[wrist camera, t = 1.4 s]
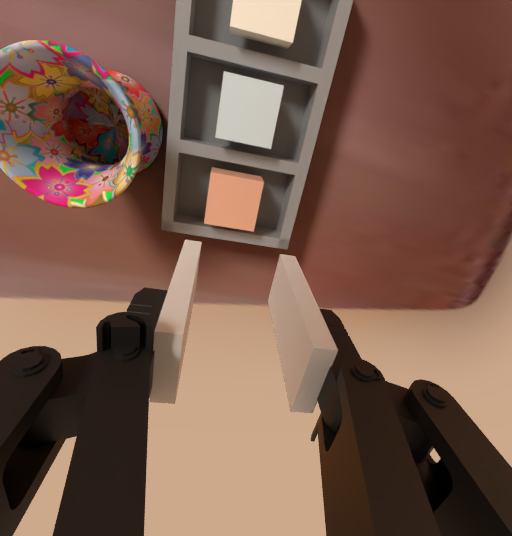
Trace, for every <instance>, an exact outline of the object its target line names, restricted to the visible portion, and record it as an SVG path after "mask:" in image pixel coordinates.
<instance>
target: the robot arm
mask: <svg viewBox="0 0 512 536" xmlns="http://www.w3.org/2000/svg"><path fill="white" fill-rule="evenodd" d="M201 244H202V242H199V241H192V240H186V239H185V241H184V244H183V247H182V250H181V253H180V256H179V259H178V262H177V265H176V268H175V271H174V274H173V277H172V280H171V283H170V286H169V289H168V291H167V290H159V289H152V288H143V289H142V290H140V291H139V292H137V293H136V294H135V295H134V297H133V299H132V301H131V303H130V305H129V307H128V309H127V312H120V313H115V314H112V315H109V316H107V317H105V318H104V319H103V320H101V321H100V323H99V324H98V326H97V327H96V331H97V352H95V353H93V354H90V355H85V356H80V357H73V358H66V359H61V355H60V353H59V352H57V351H56V350H55V349H53V348H49V347H46V346H33V347H28V348H24V349H20V350H18V351H16V352H13V353H11V354H9V355H7V356H6V357H5V358H3V359H2V360H1V361H0V536H12V535H13V534H14V532H15V530H16V528H17V527H18V525H19V523H20V521H21V519H22V518H23V516H24V514H25V512H26V510H27V509H28V507H29V505H30V503H31V501H32V499H33V498H34V496H35V494H36V492H37V490H38V489H39V487H40V485H41V483H42V481H43V480H44V478H45V476H46V474H47V472H48V471H49V468H50V467H51V465H52V463H53V462H54V460H55V458H56V456H57V454H58V452H59V451H60V449H61V447H62V445H63V443H64V441H65V440H66V439H67V438H71V437H75V436H77V438H76V442H75V446H74V450H73V454H72V458H71V462H70V467H69V471H68V475H67V479H66V483H65V487H64V491H63V496H62V499H61V504H60V508H59V512H58V516H57V520H56V524H55V529H54V532H53V536H144V513H145V487H146V486H145V485H146V459H147V433H148V431H147V430H148V406H149V397H150V402H158V403H173V404H175V400H176V395H177V389H178V384H179V378H180V373H181V367H182V362H183V356H184V351H185V346H186V340H187V334H188V329H189V324H190V318H191V313H192V307H193V302H194V296H195V290H196V282H197V275H198V267H199V259H200V252H201ZM268 304H269V309H270V314H271V318H272V323H273V328H274V333H275V338H276V343H277V348H278V352H279V357H280V362H281V366H282V372H283V377H284V382H285V386H286V391H287V396H288V401H289V406H290V411H291V412H304V413H313V411H314V408H315V406H316V403H317V401H318V403H319V407H320V410H321V414H320V416H319V419H318V421H317V423H316V426H315V428H314V431H313V433H312V436H311V441H315V438H316V436H317V434H318V439H319V450H320V451H319V452H320V463H321V476H322V488H323V500H324V511H325V523H326V536H512V467H511V466H510V465H509V464H508V463H507V461H506V460H505V459H504V458H503V457H502V455H501V454H500V453H499V452H498V451H497V449H496V448H495V447H494V446H493V445H492V443H491V442H490V441H489V440H488V439H487V437H486V436H485V435H484V434H483V433H482V431H481V430H480V429H479V428H478V427H477V425H476V424H475V423H474V422H473V421H472V419H471V418H470V417H469V416H468V415H467V413H466V412H465V411H464V410H463V409H462V407H461V406H460V405H459V404H458V403H457V401H456V400H455V399H454V398H453V397H452V396H451V395H450V394H449V393H448V392H447V391H446V390H444V389H443V388H442V387H440V386H439V385H437V384H434V383H432V382H430V381H426V380H416V381H414V382H413V383H412V384H411V386H410V388H409V389H407V388H404V387H401V386H398V385H395V384H392V383H389V382H387V381H385V379H384V377H383V375H382V373H381V372H380V371H379V370H378V369H377V368H376V367H375V366H374V365H372V364H371V363H369V362H367V361H365V360H362V359H361V357H360V355H359V354H358V352H357V350H356V348H355V346H354V344H353V343H352V341H351V339H350V337H349V336H348V333H347V331H346V329H344V326H343V324H342V322H341V320H340V318H339V317H338V316H337V315H336V314H334V313H333V312H332V311H331V310H326V309H319V307H318V305H317V303H316V301H315V298H314V296H313V294H312V292H311V290H310V287H309V285H308V283H307V281H306V279H305V276H304V274H303V272H302V270H301V268H300V266H299V263H298V261H297V259H296V257H295V256H291V255H284V254H280V256H279V260H278V264H277V268H276V272H275V276H274V280H273V284H272V287H271V291H270V295H269V299H268ZM433 448H435V450H436V452H437V453H438V455H439V456H440V458H441V459H440V460H439V462H438V463H436V462H435V461H434V460H433V459H432V458H431V456H430V452H431V451H432V450H433Z"/></svg>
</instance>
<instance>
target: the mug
mask: <svg viewBox="0 0 512 536" xmlns="http://www.w3.org/2000/svg"><path fill="white" fill-rule="evenodd" d="M162 136H163V130H162V122H161V118H160V115H159V112H158V109H157V107H156V105H155V103H154V101H153V100H152V98H151V97H150V95H149V94H148V93H147V92H146V90H145V89H144V88H143V87H142V86H141V85H139V84H138V83H137V82H136V81H134V80H133V79H131V78H130V77H128V76H126V75H124V74H122V73H119V72H116V71H113V70H107V69H104V68H102V67H101V66H100V65H99V64H98V63H96V62H95V61H94V60H92V59H91V58H89V57H88V56H86V55H85V54H83V53H81V52H79V51H77V50H75V49H73V48H70V47H68V46H65V45H62V44H59V43H56V42H50V41H43V40H28V41H22V42H18V43H14V44H11V45H9V46H7V47H5V48H3V49H2V50H0V168H1V169H2V170H3V171H4V172H5V173H6V175H7V176H8V177H9V178H11V179H12V180H13V181H14V182H15V183H16V184H17V185H19V186H20V187H21V188H23V189H24V190H26V191H27V192H29V193H30V194H32V195H34V196H36V197H38V198H40V199H42V200H44V201H47V202H49V203H52V204H55V205H59V206H64V207H70V208H90V207H95V206H99V205H102V204H105V203H107V202H109V201H111V200H113V199H114V198H116V197H117V196H119V195H120V194H121V193H122V192H123V191H124V190H125V189H126V188H127V187H128V186H129V184H130V183H131V182H132V180H133V178H134V176H135V174H136V173H138V172H140V171H142V170H144V169H145V168H147V167H148V166H149V165H150V164H151V163H152V162H153V161H154V160H155V158H156V156H157V155H158V153H159V150H160V147H161V143H162Z"/></svg>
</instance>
